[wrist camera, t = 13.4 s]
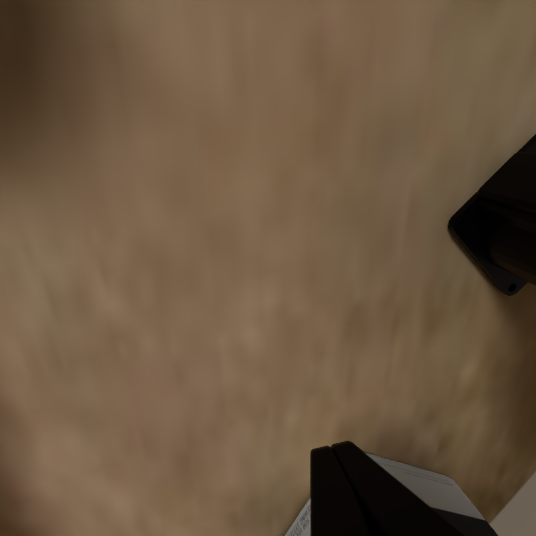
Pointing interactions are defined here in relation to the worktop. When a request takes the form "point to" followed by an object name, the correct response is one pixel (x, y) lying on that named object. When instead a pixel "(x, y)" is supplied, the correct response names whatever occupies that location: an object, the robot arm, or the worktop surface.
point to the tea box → (427, 489)
